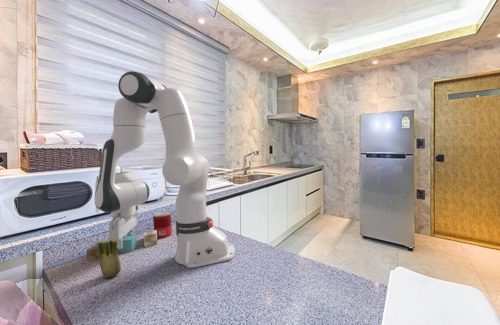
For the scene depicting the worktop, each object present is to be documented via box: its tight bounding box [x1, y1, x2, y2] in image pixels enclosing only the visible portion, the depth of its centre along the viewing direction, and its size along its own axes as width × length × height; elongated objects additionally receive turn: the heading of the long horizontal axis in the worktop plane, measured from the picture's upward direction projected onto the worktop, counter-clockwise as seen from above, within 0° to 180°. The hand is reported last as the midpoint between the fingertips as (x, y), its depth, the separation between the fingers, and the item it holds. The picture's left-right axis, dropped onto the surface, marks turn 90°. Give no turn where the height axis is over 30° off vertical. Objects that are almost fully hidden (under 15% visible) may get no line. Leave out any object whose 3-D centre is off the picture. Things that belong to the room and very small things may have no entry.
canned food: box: [152, 210, 173, 239], centre depth 107 cm, size 8×8×11 cm
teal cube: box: [118, 234, 138, 254], centre depth 93 cm, size 5×5×5 cm
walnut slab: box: [85, 241, 109, 261], centre depth 89 cm, size 7×7×4 cm
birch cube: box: [143, 229, 158, 248], centre depth 98 cm, size 5×5×5 cm
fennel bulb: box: [97, 239, 122, 279], centre depth 73 cm, size 6×5×12 cm
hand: (125, 243), depth 93 cm, fingers open, 8 cm apart
